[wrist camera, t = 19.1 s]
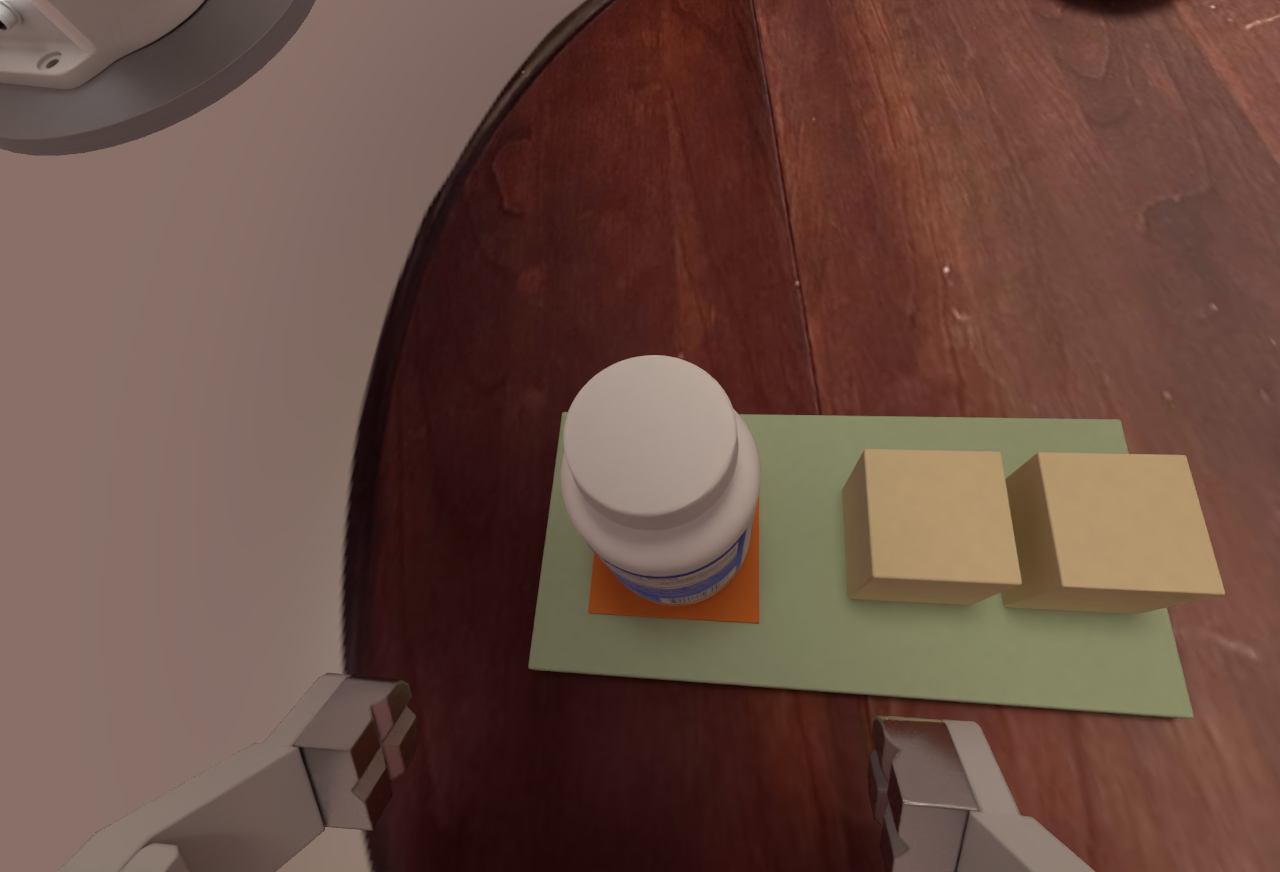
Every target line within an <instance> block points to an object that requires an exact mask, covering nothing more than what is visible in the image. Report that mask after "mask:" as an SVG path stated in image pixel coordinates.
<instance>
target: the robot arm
mask: <svg viewBox="0 0 1280 872" xmlns="http://www.w3.org/2000/svg"><path fill="white" fill-rule="evenodd" d="M204 1H205V0H0V83H5V84H15V85H25V86H35V87H45V88H55V89H73V88H76V87H79V86H81V85H83V84H85V83H86V82H88V81H89V80H91V79H92V78H94V77H95V76H96V75H98V74H99V73H100V72H102V71H103V70H104V69H105V68H107V67H108V66H109V65H111V64H112V63H113V62H115V61H116V60H118V59H120V58H122V57H124V56H125V55H127V54H130V53H132V52H134V51H136V50H138V49H140V48H142V47H144V46H146V45H148V44H150V43H152V42H154V41H155V40H157V39H159V38H160V37H162V36H164V35H165V34H167V33H168V32H170V31H171V30H173V29H174V28H175V27H177V26H178V25H179V24H181V23H182V22H183V21H184V20H186V19H187V18H188V17H189V16H190V15H191V14H192V13H194V12H195V11H196V10H197V9H198V8H199V6H200V5H201V4H202V3H203V2H204ZM411 697H412V695H411V691H410V688H409V684H408V682H406V681H403V680H398V679H389V678H379V677H369V676H360V675H345V674H335V673H327V674H325V675H323V676H321V677H319V678H318V679H317V680H316V682H315V683H314V684H313V685H312V686H311V687H310V689H309V690H308V691H307V692H306V693H305V694H304V696H303V697H302V698H301V699H300V700H299V702H298V703H297V704H296V705H295V706H294V708H293V709H292V710H291V711H290V712H289V713H288V714H287V716H286V717H285V718H284V719H283V720H282V721H281V722H280V724H279V725H278V726H277V727H276V728H275V730H274V731H273V732H272V733H271V734H270V735H269V736H268V738H267V739H266V740H265V741H264V742H263V743H254V744H252V745H250V746H248V747H246V748H245V749H243V750H241V751H239V752H238V753H236V754H234V755H232V756H230V757H229V758H227V759H225V760H224V761H222V762H220V763H218V764H216V765H215V766H213V767H211V768H209V769H208V770H206V771H204V772H202V773H200V774H199V775H197V776H195V777H193V778H192V779H190V780H188V781H186V782H184V783H183V784H181V785H179V786H177V787H176V788H174V789H172V790H170V791H169V792H167V793H165V794H163V795H161V796H160V797H158V798H156V799H154V800H153V801H151V802H149V803H147V804H145V805H144V806H142V807H140V808H138V809H137V810H135V811H133V812H131V813H129V814H128V815H126V816H124V817H122V818H121V819H119V820H117V821H115V822H113V823H112V824H110V825H109V826H107V827H105V828H103V829H101V830H99V831H97V832H96V833H95V834H94V835H93V836H92V837H91V838H90V839H89V840H88V841H87V842H86V843H85V844H84V845H83V846H82V847H81V848H80V849H79V850H78V851H77V852H76V853H75V854H74V855H73V856H72V857H71V858H70V859H69V860H68V861H67V862H66V863H65V864H64V865H63V866H62V867H61V868H60V869H59V870H58V871H57V872H276V871H277V870H278V869H279V868H281V867H282V866H283V865H284V864H285V863H286V862H288V861H289V860H290V859H291V858H292V857H294V856H295V855H296V854H297V853H298V852H300V851H301V850H302V849H303V848H304V847H305V846H307V844H309V843H310V842H311V841H312V840H314V839H315V838H316V837H317V836H318V835H320V834H321V833H322V832H323V831H324V830H325V827H335V828H346V829H359V830H371V831H372V830H373V828H374V827H375V825H376V823H377V821H378V820H379V818H380V816H381V814H382V812H383V811H384V809H385V807H386V805H387V804H388V802H389V800H390V798H391V797H392V795H393V794H392V788H391V782H392V781H393V780H395V779H396V778H398V777H399V776H400V775H402V774H403V773H405V772H406V770H407V768H408V766H409V764H410V763H411V761H412V759H413V757H414V753H415V749H416V746H417V742H418V728H419V726H418V721H417V717H416V715H415V714H414V713H413V712H412V711H411V710H410V709H409V708H408V707H407V706H406V705H407V704H408V702H409V700H410V699H411ZM872 735H873V739H874V744H875V748H876V749H875V750H873V751H872V752H871V753H870V754H869V764H868V789H869V796H870V803H871V808H872V813H873V817H874V819H875V820H876V821H877V822H878V823H879V825H880V826H881V827H882V833H881V840H880V849H881V854H882V858H883V863H884V867H885V871H886V872H1095V871H1094V870H1093V869H1092V868H1091V867H1089V866H1088V865H1087V864H1086V863H1085V862H1084V861H1082V860H1081V859H1080V858H1079V857H1078V856H1077V855H1075V854H1074V853H1073V852H1072V851H1071V850H1070V849H1069V848H1067V847H1066V846H1065V845H1064V844H1063V843H1062V842H1060V841H1059V840H1058V839H1057V838H1056V837H1055V836H1053V835H1052V834H1051V833H1050V832H1049V831H1048V830H1047V829H1045V828H1044V827H1043V826H1042V825H1041V824H1040V823H1038V822H1037V821H1036V820H1035V819H1034V818H1033V817H1027V816H1021V814H1020V812H1019V810H1018V808H1017V806H1016V803H1015V801H1014V799H1013V797H1012V795H1011V792H1010V790H1009V788H1008V786H1007V784H1006V782H1005V779H1004V777H1003V775H1002V773H1001V771H1000V769H999V766H998V764H997V762H996V760H995V758H994V756H993V753H992V751H991V749H990V747H989V745H988V743H987V740H986V738H985V736H984V734H983V732H982V730H981V727H980V726H979V725H978V724H977V723H976V722H971V721H956V720H941V721H940V720H938V719H924V718H909V717H894V716H878V715H876V717H875V720H874V723H873V730H872Z"/></svg>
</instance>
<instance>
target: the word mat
mask: <svg viewBox="0 0 1280 872" xmlns="http://www.w3.org/2000/svg"><path fill="white" fill-rule="evenodd" d="M567 414H568V412H563V413H562V419H561V427H560V434H559V441H558V449H557V456H556V464H555V471H554V479H553V486H552V494H551V501H550V508H549V516H548V523H547V531H546V538H545V546H544V553H543V561H542V568H541V575H540V583H539V590H538V598H537V605H536V613H535V620H534V628H533V635H532V643H531V650H530V657H529V665H528V667H529V669H533V670H540V671H553V672H566V673H580V674H593V675H606V676H620V677H633V678H646V679H660V680H673V681H686V682H700V683H713V684H726V685H740V686H753V687H766V688H780V689H793V690H806V691H819V692H833V693H846V694H859V695H873V696H886V697H899V698H913V699H926V700H939V701H953V702H966V703H979V704H993V705H1006V706H1019V707H1033V708H1046V709H1059V710H1073V711H1086V712H1099V713H1112V714H1126V715H1139V716H1152V717H1166V718H1188V719H1191V718H1193V716H1194V715H1193V711H1192V707H1191V703H1190V699H1189V695H1188V691H1187V687H1186V683H1185V679H1184V675H1183V671H1182V667H1181V663H1180V659H1179V655H1178V651H1177V647H1176V643H1175V639H1174V634H1173V630H1172V626H1171V622H1170V618H1169V614H1168V610H1167V607H1171V606H1176V605H1180V604H1185V603H1189V602H1194V601H1198V600H1203V599H1207V598H1212V597H1216V596H1221V595H1224V594H1225V591H1224V587H1223V584H1222V580H1221V577H1220V573H1219V570H1218V566H1217V563H1216V559H1215V556H1214V552H1213V549H1212V545H1211V542H1210V538H1209V535H1208V531H1207V528H1206V524H1205V521H1204V517H1203V514H1202V510H1201V507H1200V503H1199V500H1198V496H1197V493H1196V489H1195V486H1194V482H1193V479H1192V475H1191V472H1190V468H1189V465H1188V461H1187V458H1186V456H1185V455H1151V454H1129V453H1128V449H1127V445H1126V441H1125V436H1124V432H1123V428H1122V424H1121V421H1120V420H1114V419H1040V418H966V417H893V416H819V415H745V414H739V416H740V417H741V418H742V419H743V421H744V422H745V423H746V425H747V427H748V428H749V430H750V432H751V434H752V436H753V438H754V441H755V443H756V446H757V450H758V453H759V458H760V466H761V483H760V490H759V496H758V501H757V506H756V510H755V515H754V519H753V526H752V532H751V538H750V543H749V547H748V550H747V554H746V556H745V559H744V561H743V563H742V565H741V567H740V569H739V570H738V572H737V573H736V575H735V576H734V577H733V579H732V580H731V581H730V582H729V583H728V584H727V585H726V586H725V587H724V588H723V589H722V590H720V591H719V592H718V593H716V594H715V595H713V596H711V597H710V598H708V599H706V600H703V601H701V602H698V603H694V604H690V605H684V606H669V605H662V604H658V603H654V602H651V601H649V600H646V599H644V598H642V597H640V596H638V595H637V594H635V593H634V592H632V591H631V590H629V589H628V588H627V587H626V586H625V585H624V584H622V582H621V581H620V580H619V579H618V578H617V577H616V576H615V575H614V574H613V573H612V571H611V570H610V569H609V568H608V567H607V566H606V565H605V563H604V562H603V561H602V560H601V559H600V558H599V557H598V555H597V554H596V553H595V552H594V551H593V550H592V549H591V548H590V547H589V546H588V544H587V543H586V542H585V541H584V539H583V538H582V537H581V535H580V534H579V533H578V531H577V530H576V528H575V527H574V525H573V523H572V521H571V519H570V517H569V515H568V513H567V510H566V507H565V504H564V500H563V496H562V490H561V467H562V460H563V455H564V444H563V434H564V426H565V422H566V418H567Z"/></svg>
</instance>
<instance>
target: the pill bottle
mask: <svg viewBox="0 0 1280 872" xmlns="http://www.w3.org/2000/svg"><path fill="white" fill-rule="evenodd" d="M563 444H564V455H563V460H562V467H561V490H562V496H563V500H564V504H565V507H566V510H567V513H568V515H569V517H570V519H571V521H572V523H573V525H574V527H575V528H576V530H577V531H578V533H579V534H580V535H581V537H582V538H583V539H584V541H585V542H586V543H587V544H588V546H589V547H590V548H591V549H592V550H593V551H594V552H595V553H596V554H597V555H598V557H599V558H600V559H601V560H602V561H603V562H604V563H605V565H606V566H607V567H608V568H609V569H610V570H611V571H612V573H613V574H614V575H615V576H616V577H617V578H618V579H619V580H620V581H621V582H622V584H624V585H625V586H626V587H627V588H628V589H629V590H631V591H632V592H634V593H635V594H637V595H638V596H640V597H642V598H644V599H646V600H649V601H651V602H654V603H658V604H662V605H669V606H684V605H690V604H694V603H698V602H701V601H703V600H706V599H708V598H710V597H711V596H713V595H715V594H716V593H718V592H719V591H720V590H722V589H723V588H724V587H725V586H726V585H727V584H728V583H729V582H730V581H731V580H732V579H733V577H734V576H735V575H736V573H737V572H738V570H739V569H740V567H741V565H742V563H743V561H744V559H745V556H746V554H747V550H748V547H749V543H750V538H751V532H752V526H753V519H754V515H755V510H756V506H757V501H758V496H759V490H760V483H761V466H760V458H759V453H758V450H757V446H756V443H755V441H754V438H753V436H752V434H751V432H750V430H749V428H748V427H747V425H746V423H745V422H744V421H743V419H742V418H741V417H740V416H739V414H738V413H737V412H736V411H735V410H734V409H733V407H732V405H731V402H730V400H729V397H728V396H727V394H726V393H725V391H724V390H723V389H722V387H721V386H720V385H719V383H718V382H717V381H716V380H715V379H714V378H713V377H711V376H710V375H709V374H708V373H707V372H705V371H704V370H702V369H701V368H699V367H698V366H696V365H694V364H692V363H689V362H687V361H684V360H681V359H678V358H674V357H669V356H661V355H649V356H639V357H634V358H629V359H626V360H623V361H620V362H618V363H615V364H613V365H611V366H609V367H607V368H606V369H604V370H602V371H601V372H599V373H598V374H596V375H595V376H594V377H593V378H592V379H591V380H590V381H588V383H587V384H586V385H585V386H584V387H583V388H582V389H581V390H580V392H579V393H578V394H577V396H576V398H575V399H574V401H573V403H572V405H571V407H570V409H569V411H568V414H567V418H566V422H565V426H564V434H563Z"/></svg>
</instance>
